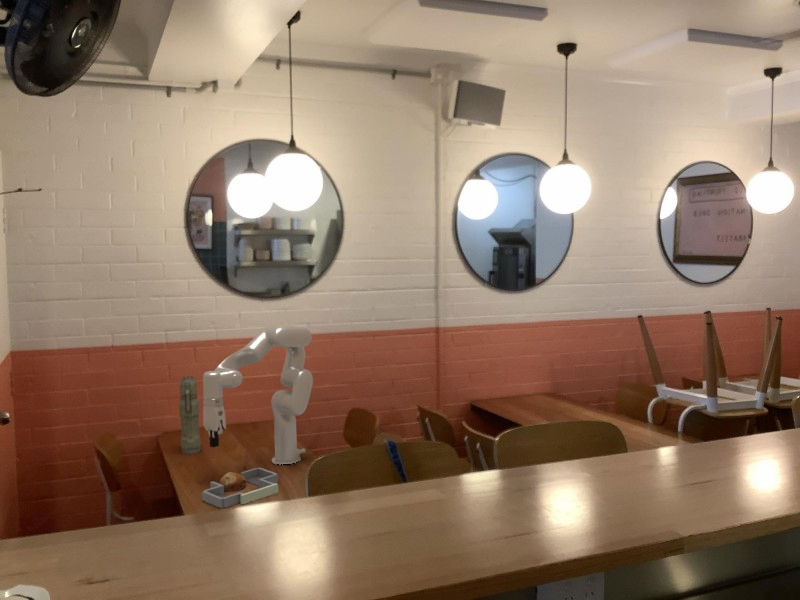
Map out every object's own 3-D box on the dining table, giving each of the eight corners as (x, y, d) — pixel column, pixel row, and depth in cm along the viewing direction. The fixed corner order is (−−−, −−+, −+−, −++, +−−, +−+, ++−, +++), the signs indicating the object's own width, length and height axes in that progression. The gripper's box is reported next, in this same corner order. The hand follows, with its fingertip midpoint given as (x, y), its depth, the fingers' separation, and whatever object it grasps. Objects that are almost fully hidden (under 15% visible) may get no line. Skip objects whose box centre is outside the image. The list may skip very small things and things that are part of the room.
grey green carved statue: (181, 456, 330) (178, 380, 326) (180, 449, 341) (177, 375, 337) (202, 454, 332) (198, 379, 329) (200, 447, 344) (197, 374, 340)
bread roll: (226, 492, 293) (217, 475, 293) (249, 480, 294) (240, 463, 293) (222, 501, 284) (213, 483, 283) (246, 489, 284) (236, 471, 283)
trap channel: (259, 475, 302) (258, 467, 302) (293, 487, 287) (292, 478, 287) (192, 496, 279) (191, 487, 279) (225, 510, 264) (225, 501, 264)
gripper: (231, 403, 290) (232, 448, 292) (211, 397, 300) (212, 441, 302) (215, 406, 285) (216, 452, 286) (195, 400, 295) (196, 444, 296)
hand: (214, 446), depth 294 cm, fingers closed
